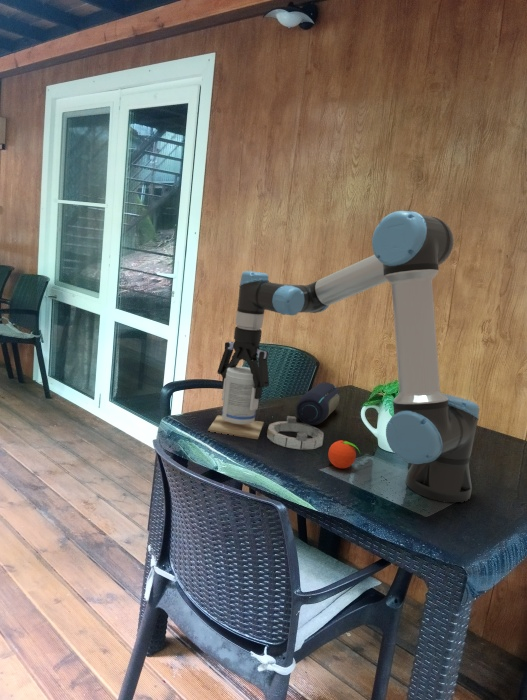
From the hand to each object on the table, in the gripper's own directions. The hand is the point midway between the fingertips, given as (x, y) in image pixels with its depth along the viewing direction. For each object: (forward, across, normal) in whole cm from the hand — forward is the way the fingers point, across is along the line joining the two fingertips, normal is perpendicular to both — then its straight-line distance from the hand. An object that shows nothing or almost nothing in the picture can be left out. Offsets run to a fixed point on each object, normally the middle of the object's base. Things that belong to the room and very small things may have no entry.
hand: (239, 404), depth 163 cm
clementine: (+7, -35, +1) cm, 36 cm away
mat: (+7, 0, 0) cm, 7 cm away
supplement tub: (+5, 0, 0) cm, 5 cm away
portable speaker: (+7, -8, -31) cm, 33 cm away
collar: (+7, -16, -7) cm, 19 cm away
